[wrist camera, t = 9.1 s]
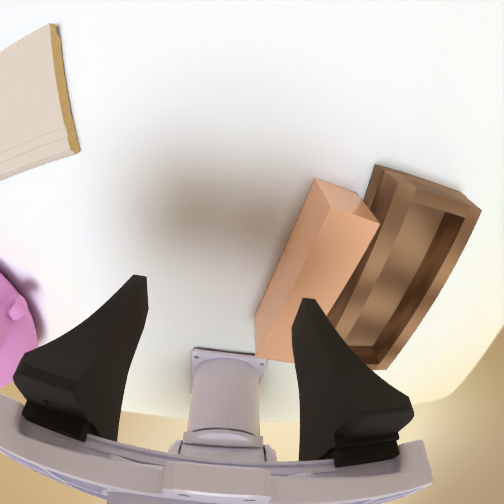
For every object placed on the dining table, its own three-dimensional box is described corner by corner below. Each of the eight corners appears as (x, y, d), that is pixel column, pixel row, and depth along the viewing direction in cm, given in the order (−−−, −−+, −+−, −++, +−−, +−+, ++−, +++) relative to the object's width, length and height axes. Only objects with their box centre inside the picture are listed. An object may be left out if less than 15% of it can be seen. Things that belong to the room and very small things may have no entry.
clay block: (289, 321, 29) (294, 363, 25) (254, 314, 28) (255, 357, 24) (356, 192, 21) (380, 223, 17) (314, 176, 21) (330, 206, 17)
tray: (379, 345, 31) (388, 369, 28) (306, 342, 30) (310, 369, 27) (460, 192, 21) (483, 211, 18) (375, 164, 20) (395, 181, 17)
